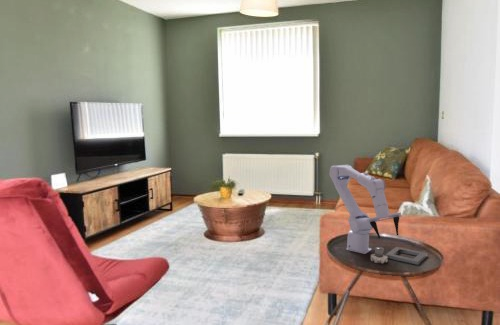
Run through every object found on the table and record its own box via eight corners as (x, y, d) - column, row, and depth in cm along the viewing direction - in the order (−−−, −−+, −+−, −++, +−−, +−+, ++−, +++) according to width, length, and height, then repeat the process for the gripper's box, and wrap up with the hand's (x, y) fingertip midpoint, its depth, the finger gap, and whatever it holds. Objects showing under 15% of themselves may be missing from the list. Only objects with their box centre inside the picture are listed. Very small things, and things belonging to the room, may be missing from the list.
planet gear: (367, 260, 179) (368, 248, 178) (374, 256, 185) (374, 244, 184) (383, 264, 175) (384, 252, 174) (389, 260, 180) (390, 247, 180)
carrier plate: (385, 257, 183) (385, 254, 183) (396, 249, 194) (396, 246, 194) (417, 265, 174) (417, 261, 174) (427, 256, 185) (427, 253, 185)
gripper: (363, 208, 178) (371, 239, 175) (397, 201, 174) (406, 233, 171) (364, 209, 185) (371, 239, 181) (397, 203, 181) (405, 233, 177)
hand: (388, 236), depth 177 cm, fingers open, 7 cm apart
